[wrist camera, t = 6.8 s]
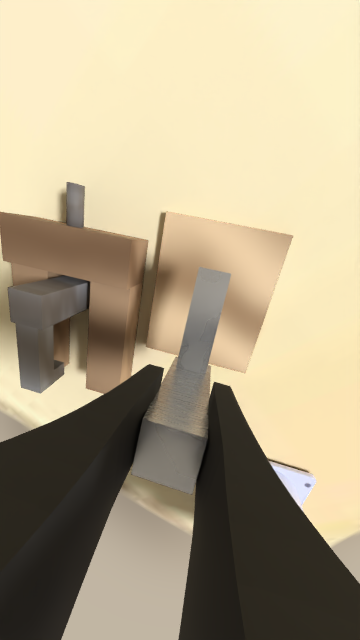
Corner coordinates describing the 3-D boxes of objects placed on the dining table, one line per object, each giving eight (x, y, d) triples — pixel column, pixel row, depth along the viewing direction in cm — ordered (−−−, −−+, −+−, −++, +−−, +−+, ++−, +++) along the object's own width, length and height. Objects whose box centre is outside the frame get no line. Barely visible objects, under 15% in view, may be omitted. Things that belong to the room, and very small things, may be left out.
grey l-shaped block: (202, 398, 13) (192, 494, 7) (168, 388, 13) (131, 474, 7) (234, 276, 11) (255, 265, 6) (196, 268, 12) (178, 249, 6)
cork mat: (244, 369, 17) (245, 373, 17) (147, 344, 18) (145, 347, 18) (291, 235, 14) (293, 235, 13) (168, 212, 15) (166, 211, 14)
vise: (130, 380, 20) (93, 434, 14) (41, 355, 21) (-25, 396, 15) (153, 202, 15) (109, 177, 9) (35, 180, 16) (-70, 145, 10)
